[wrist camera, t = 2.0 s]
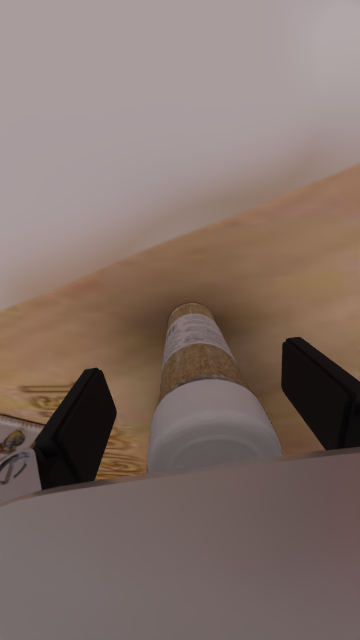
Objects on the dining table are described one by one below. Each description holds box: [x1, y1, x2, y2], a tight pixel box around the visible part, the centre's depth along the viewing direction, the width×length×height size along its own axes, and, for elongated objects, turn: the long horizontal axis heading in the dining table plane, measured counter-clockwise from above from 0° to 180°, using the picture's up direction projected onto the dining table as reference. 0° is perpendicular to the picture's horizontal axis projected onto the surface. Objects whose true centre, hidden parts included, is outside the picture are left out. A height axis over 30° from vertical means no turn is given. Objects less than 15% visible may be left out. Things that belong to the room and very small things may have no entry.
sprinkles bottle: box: [147, 302, 282, 473], centre depth 13 cm, size 5×5×14 cm
